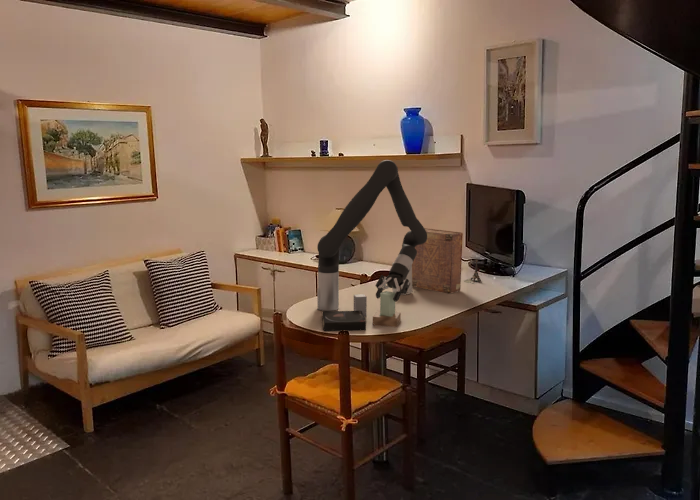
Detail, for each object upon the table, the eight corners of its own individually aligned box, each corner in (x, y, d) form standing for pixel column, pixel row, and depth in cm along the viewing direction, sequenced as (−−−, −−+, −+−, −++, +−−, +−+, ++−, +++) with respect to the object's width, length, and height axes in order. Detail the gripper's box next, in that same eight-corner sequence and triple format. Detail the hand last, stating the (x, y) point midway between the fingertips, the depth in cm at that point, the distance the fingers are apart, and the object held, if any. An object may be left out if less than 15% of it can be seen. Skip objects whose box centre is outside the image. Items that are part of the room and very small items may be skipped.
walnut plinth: (372, 326, 248) (372, 316, 247) (377, 319, 257) (377, 309, 256) (396, 327, 245) (396, 317, 244) (400, 321, 255) (400, 311, 254)
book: (409, 285, 317) (411, 229, 312) (420, 283, 324) (421, 227, 319) (450, 293, 300) (452, 234, 295) (460, 290, 307) (462, 232, 302)
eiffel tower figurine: (472, 278, 338) (473, 254, 336) (489, 280, 333) (490, 256, 330) (460, 282, 327) (461, 258, 324) (477, 285, 321) (478, 260, 318)
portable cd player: (321, 320, 255) (321, 311, 254) (361, 319, 257) (361, 310, 256) (323, 332, 239) (323, 322, 238) (365, 331, 240) (365, 321, 240)
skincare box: (412, 293, 301) (413, 262, 298) (404, 295, 296) (404, 264, 294) (399, 290, 307) (399, 260, 304) (391, 292, 302) (391, 262, 299)
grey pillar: (356, 317, 258) (356, 297, 257) (353, 314, 263) (353, 294, 261) (366, 316, 259) (366, 296, 258) (363, 313, 264) (363, 294, 262)
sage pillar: (388, 315, 247) (389, 294, 246) (380, 314, 250) (380, 292, 249) (395, 313, 251) (395, 292, 249) (386, 311, 254) (386, 290, 252)
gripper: (383, 260, 257) (368, 291, 250) (412, 264, 249) (397, 296, 242) (390, 270, 262) (375, 301, 255) (418, 274, 254) (403, 306, 247)
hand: (385, 299), depth 248 cm, fingers open, 8 cm apart
